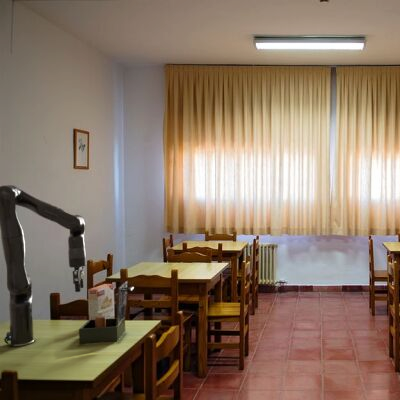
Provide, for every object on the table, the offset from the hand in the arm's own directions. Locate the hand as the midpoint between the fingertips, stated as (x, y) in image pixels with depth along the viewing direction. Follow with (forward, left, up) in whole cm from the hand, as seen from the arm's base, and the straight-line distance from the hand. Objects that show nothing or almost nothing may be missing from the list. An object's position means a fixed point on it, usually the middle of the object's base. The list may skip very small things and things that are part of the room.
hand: (79, 289), depth 240 cm
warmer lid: (+17, -10, -7) cm, 21 cm away
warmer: (+9, -7, -24) cm, 26 cm away
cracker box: (+11, +18, -24) cm, 32 cm away
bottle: (+8, -6, -23) cm, 25 cm away
